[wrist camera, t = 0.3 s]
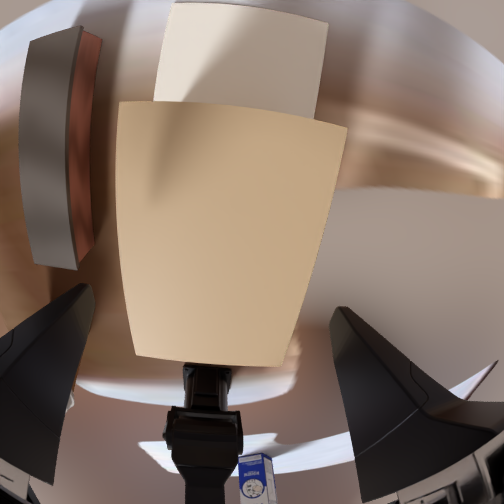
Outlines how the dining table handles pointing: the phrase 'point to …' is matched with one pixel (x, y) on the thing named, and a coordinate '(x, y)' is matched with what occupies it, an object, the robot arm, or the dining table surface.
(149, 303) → the kraft carton
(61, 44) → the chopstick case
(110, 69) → the dining table surface
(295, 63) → the board
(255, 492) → the milk carton
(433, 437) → the robot arm
